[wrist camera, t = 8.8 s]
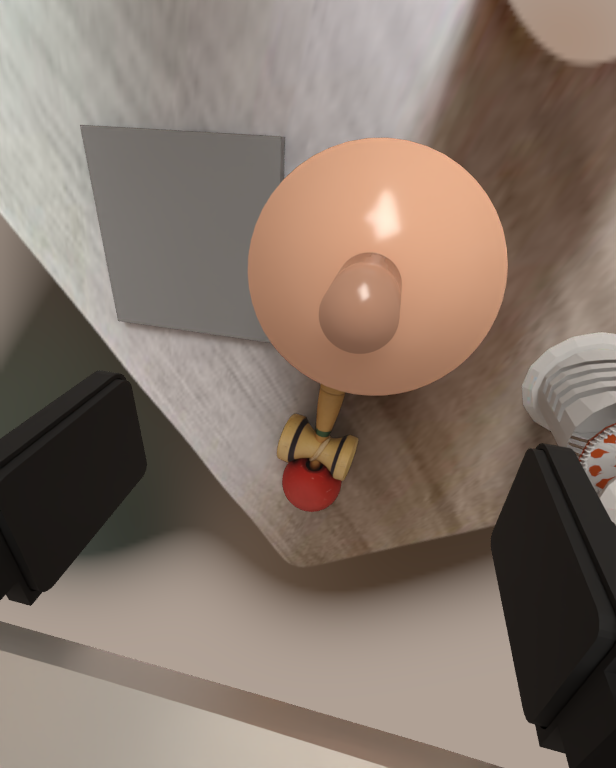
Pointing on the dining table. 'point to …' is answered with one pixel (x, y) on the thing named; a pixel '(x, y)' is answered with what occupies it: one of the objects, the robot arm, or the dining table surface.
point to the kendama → (315, 455)
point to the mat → (182, 223)
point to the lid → (377, 266)
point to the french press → (580, 404)
